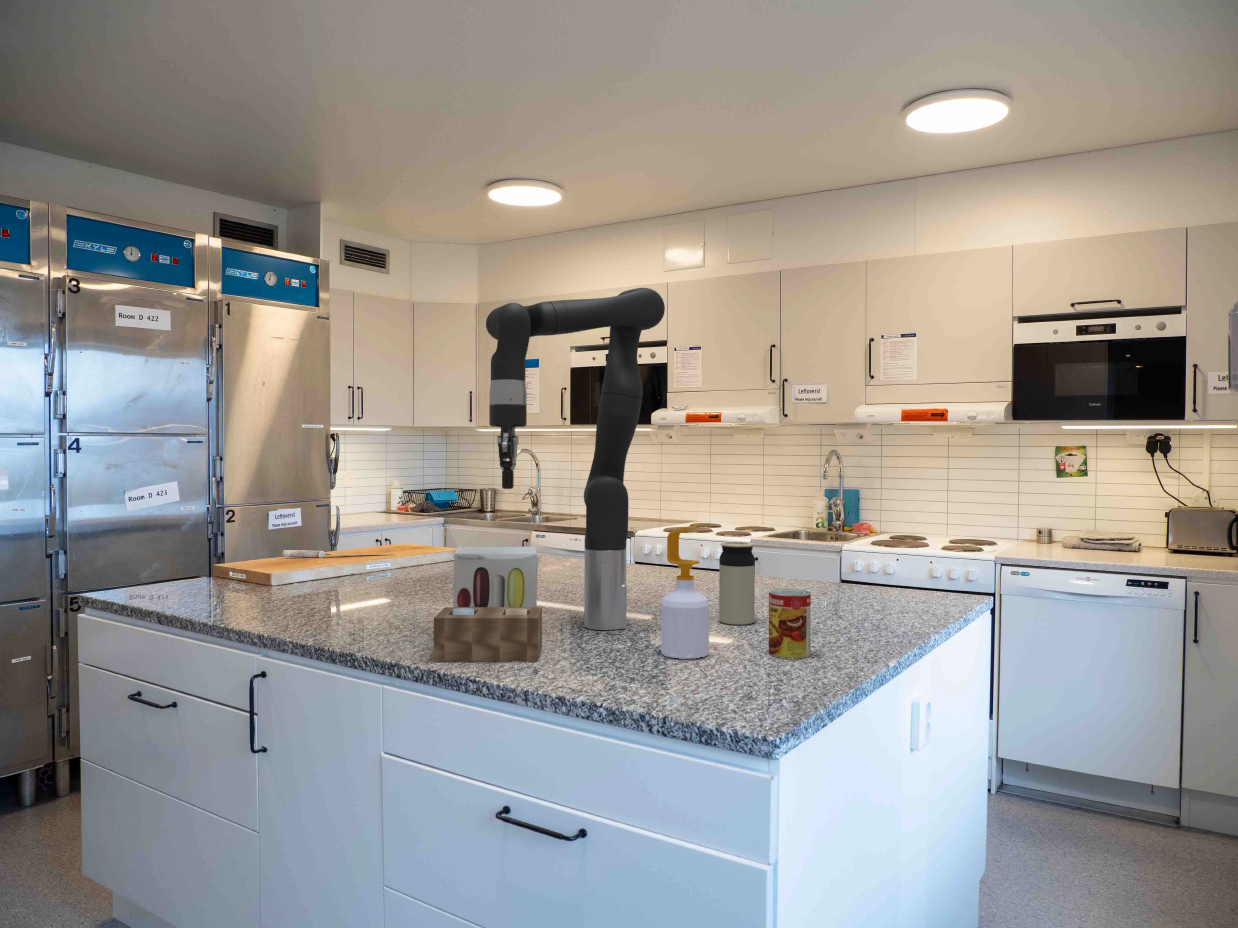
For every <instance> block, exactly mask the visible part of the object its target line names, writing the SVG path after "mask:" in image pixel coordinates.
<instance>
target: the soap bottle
mask: <svg viewBox="0 0 1238 928" xmlns="http://www.w3.org/2000/svg"><path fill="white" fill-rule="evenodd" d="M696 528H697V525H691V526H689V525H688V526H686V527H682V528H678V529H676V530H671V531H670V532H669V533H668V534H667V537H666V540H667V541H666V544H667V545H666V559H667V562H668V563H670V564H671V565H677V568H678V569H680V575H676V585H675V586H676V587H675V588H674V589H673V590H671V591H670V592H668V593H667V594H666V595H665V596H663V598H662V601H661V602H660V603H661V605H660V607H661V611H660V612H661V613H660V614H661V616H660V617H661V618H660V620H661V621H660V627H661V628H660V634H661V636H660V641H661V642H660V644H661V645H660V650H661V655H663V656H665V657H666V656H667V657H666V658H669V657H672V658H671V659H673V658H679V659H678V660H684V659H690V660H692V659H691V658H700V657H703V658H705V656H706V657H707V656H708V655H710V654H709V653H710V650H709V649H710V604H709V601H708V599H707V597H706V596H705V595H704V594H703V593H701V592H700V591H698V590H696V588H695V577H694V576H693V575H691V574H690V569H693V566H694V565H698V564H700V560H692V559H691V560H690V559H682V558H681V557H680V554H679V553H680V551H679V550H680V549H679V548H680V545H679V543H680V541H679V540H680V535H681V534H682V533H683V532H686V531H689V530H692V529H696ZM700 659H701V658H700Z"/></svg>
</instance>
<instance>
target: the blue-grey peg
mask: <svg viewBox="0 0 1238 928" xmlns="http://www.w3.org/2000/svg"><path fill="white" fill-rule="evenodd" d="M453 615H474V609H473V608H456V609H453Z"/></svg>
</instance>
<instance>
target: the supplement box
mask: <svg viewBox="0 0 1238 928" xmlns="http://www.w3.org/2000/svg"><path fill="white" fill-rule="evenodd" d="M537 554H538V553H537V547H536V546H531V545H530V546H526V545H525V546H523V545H521V546H519V545H518V546H458V547H457V548H456V549H455V551H454V555H453V590H452V591H453V592H452V593H453V595H452V598H453V600H452V602H453V603H452V604H453V605H452V607H538V606H537V603H538V602H537V600H538V555H537Z"/></svg>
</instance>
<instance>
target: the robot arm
mask: <svg viewBox="0 0 1238 928" xmlns="http://www.w3.org/2000/svg"><path fill="white" fill-rule="evenodd" d="M665 309H666V307H665V301H664V299H663V298H662V296H661V294H660V293H659V292H657V291H656V290H655V289H652V288H649V287H637V288H632V289H628V290H624V291H622V292H620V293H619V294H617V295H615V296H608V297H598V298H579V299H561V300H551V301H550V300H549V301H548V300H547V301H542V302H538V303H535V304H532V305H531V304H529V305H522V304H521V303H517V302H509V303H506V304H504V305H501V306H498V307H496V308H493V310H492V311H490V312H489V314H488V315H487V318H486V321H485V328H486V330H487V333H488V335H490V336H491V337H492V338H493V339H495V340H497V342H496V343H497V344H496V350H495V352H494V353H493V354H492V355H491V358H490V385H489V393H488V394H489V395H488V396H489V399H488V400H489V403H488V404H489V406H488V408H489V409H488V412H489V413H488V415H489V418H488V419H489V421H488V422H489V426H490V427H493V428H500V433H499V434H500V435H497V438H496V440H497V441H496V443H497V447H498V458H499V467H500V469H501V487H502V489H503V490H512V489H513V488H514V485H515V483H514V482H515V479H514V475H515V474H514V472H515V469H516V466H517V462H516V460H517V457H518V445H519V436H518V435H516V429H517V428H526V427H527V424H528V422H527V414H528V413H527V411H528V410H527V401H528V400H527V398H528V395H527V388H526V387H527V386H526V385H527V384H526V358H527V353H528V348H529V343H530V338H532V337H540V336H541V337H544V336H546V337H548V336H549V337H550V336H556V335H557V336H558V335H567V334H573V333H578V332H584V331H591V330H596V329H601V328H609V341H608V349H607V350H608V351H607V352H608V353H607V357H606V362H605V363H606V364H605V369H604V376H603V382H602V386H601V391H600V398H599V402H598V403H599V404H598V410H597V411H598V412H597V419H596V428H595V429H596V430H595V445H594V453H593V458H592V462H591V467H590V469H589V474H588V478H587V481H586V484H585V488H584V491H583V500H584V501H583V502H584V505H585V534H584V589H583V590H584V596H583V598H584V602H583V603H584V606H583V607H584V608H583V609H584V613H583V615H584V616H583V621H584V623H583V624H584V628H586V629H589V630H597V631H613V630H621V629H623V630H624V629H625V630H626V629H627V604H628V603H627V594H628V593H627V592H628V591H627V589H628V587H627V540H628V534H629V493H628V489H627V487H626V485H625V484H624V480H625V470H626V469H625V467H626V462H627V461H626V460H627V457H628V456H627V455H628V452H629V449H630V446H631V444H632V441H633V438H634V436H635V433H636V429H637V425H638V423H639V418H640V413H641V409H642V408H641V407H642V401H643V393H644V390H643V389H644V388H643V382H642V377H641V372H640V368H639V363H638V351H639V344H640V339H641V335H642V331H647V330H650V329H653V328H655V327H656V326H657V325H659V324H660V322H661V321H663V320H662V319H663V318H664V315H665V311H666V310H665Z"/></svg>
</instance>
